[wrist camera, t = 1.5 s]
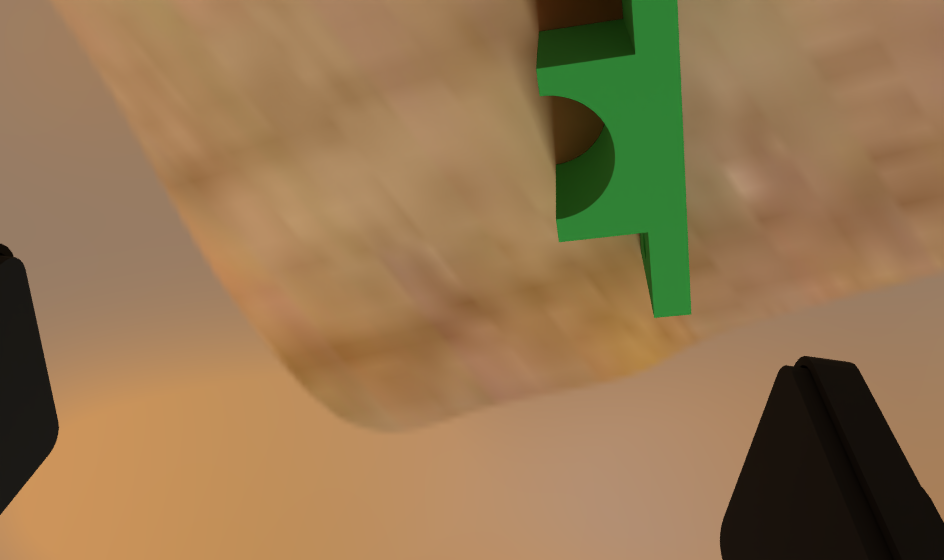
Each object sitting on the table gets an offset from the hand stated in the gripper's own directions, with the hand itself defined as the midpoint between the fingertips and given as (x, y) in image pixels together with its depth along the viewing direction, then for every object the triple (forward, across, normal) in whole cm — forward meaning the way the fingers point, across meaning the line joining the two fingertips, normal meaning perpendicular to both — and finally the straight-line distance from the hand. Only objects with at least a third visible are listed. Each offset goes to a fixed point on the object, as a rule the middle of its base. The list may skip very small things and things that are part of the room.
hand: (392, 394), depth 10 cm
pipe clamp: (+18, -4, +1) cm, 18 cm away
